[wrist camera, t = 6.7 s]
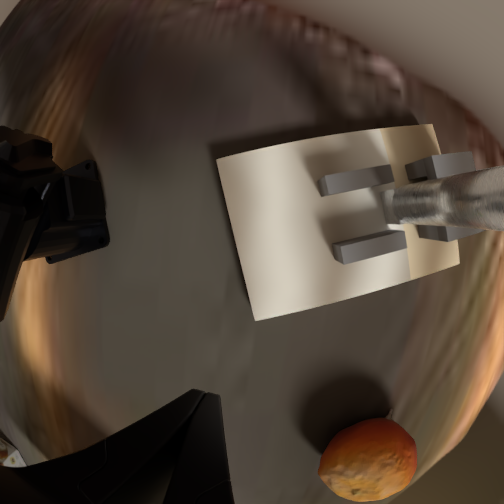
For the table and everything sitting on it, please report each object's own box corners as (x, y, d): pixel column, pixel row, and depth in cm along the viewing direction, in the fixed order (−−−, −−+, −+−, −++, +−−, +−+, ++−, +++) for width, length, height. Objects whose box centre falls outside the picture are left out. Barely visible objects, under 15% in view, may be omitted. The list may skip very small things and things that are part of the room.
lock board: (255, 313, 19) (253, 343, 14) (219, 164, 18) (205, 145, 13) (448, 260, 18) (488, 271, 13) (422, 129, 17) (458, 110, 12)
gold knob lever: (377, 234, 17) (570, 270, 3) (367, 185, 16) (554, 136, 3) (447, 216, 16) (615, 226, 3) (438, 173, 16) (604, 141, 3)
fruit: (425, 443, 19) (409, 513, 12) (350, 447, 23) (321, 509, 17) (421, 386, 18) (406, 468, 11) (332, 395, 22) (295, 464, 16)
